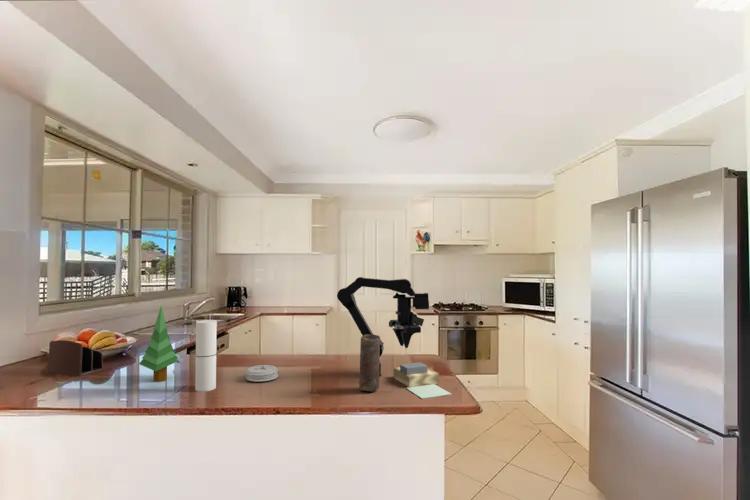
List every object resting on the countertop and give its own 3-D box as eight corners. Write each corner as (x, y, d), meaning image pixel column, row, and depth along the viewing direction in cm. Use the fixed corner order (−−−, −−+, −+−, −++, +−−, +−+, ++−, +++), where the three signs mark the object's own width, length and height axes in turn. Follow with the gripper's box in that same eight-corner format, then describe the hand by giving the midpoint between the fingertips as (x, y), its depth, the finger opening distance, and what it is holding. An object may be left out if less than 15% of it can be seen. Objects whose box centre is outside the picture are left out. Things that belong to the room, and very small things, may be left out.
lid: (238, 381, 160) (238, 368, 160) (261, 373, 172) (261, 361, 172) (262, 385, 154) (262, 372, 155) (284, 377, 166) (284, 365, 166)
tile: (407, 374, 154) (406, 368, 155) (400, 370, 160) (400, 364, 160) (427, 372, 158) (427, 366, 158) (420, 368, 163) (420, 362, 164)
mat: (422, 399, 139) (422, 398, 139) (406, 388, 150) (406, 387, 150) (451, 394, 144) (451, 393, 144) (434, 384, 155) (434, 384, 155)
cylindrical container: (195, 392, 146) (196, 323, 146) (194, 387, 152) (195, 320, 153) (217, 389, 149) (217, 322, 149) (214, 384, 155) (215, 319, 156)
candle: (382, 388, 151) (382, 334, 151) (376, 394, 144) (376, 338, 144) (363, 386, 153) (363, 333, 154) (356, 392, 146) (356, 337, 147)
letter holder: (79, 377, 165) (80, 342, 166) (47, 372, 172) (47, 339, 172) (103, 370, 175) (103, 338, 175) (71, 366, 181) (72, 335, 182)
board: (409, 387, 151) (409, 377, 152) (393, 377, 164) (393, 367, 164) (439, 383, 156) (439, 373, 156) (421, 374, 169) (421, 364, 169)
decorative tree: (132, 380, 160) (133, 305, 160) (173, 372, 171) (174, 302, 172) (144, 388, 150) (145, 307, 151) (187, 379, 162) (188, 304, 162)
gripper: (432, 311, 162) (432, 350, 161) (411, 306, 179) (411, 341, 179) (407, 312, 158) (407, 352, 157) (388, 307, 175) (388, 343, 174)
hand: (404, 346), depth 167 cm, fingers open, 4 cm apart
